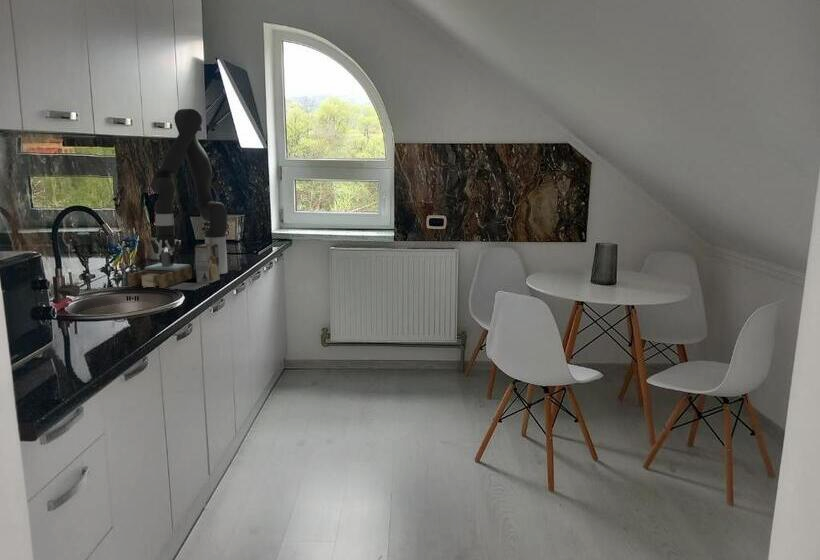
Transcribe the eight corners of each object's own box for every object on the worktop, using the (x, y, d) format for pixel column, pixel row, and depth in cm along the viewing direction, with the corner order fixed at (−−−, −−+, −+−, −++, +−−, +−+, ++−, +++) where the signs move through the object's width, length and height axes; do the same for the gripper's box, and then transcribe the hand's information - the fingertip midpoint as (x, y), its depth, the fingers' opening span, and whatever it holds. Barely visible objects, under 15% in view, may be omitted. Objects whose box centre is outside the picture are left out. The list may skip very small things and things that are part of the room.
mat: (183, 283, 271) (183, 282, 271) (209, 284, 269) (209, 283, 269) (167, 289, 259) (167, 287, 259) (194, 290, 257) (194, 289, 257)
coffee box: (207, 279, 281) (205, 243, 278) (220, 279, 280) (218, 243, 277) (196, 283, 273) (194, 246, 270) (209, 283, 271) (207, 246, 268)
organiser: (161, 277, 286) (160, 265, 285) (192, 278, 283) (191, 266, 282) (128, 287, 262) (127, 274, 261) (161, 289, 259) (160, 275, 258)
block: (149, 285, 268) (148, 273, 267) (160, 285, 267) (159, 274, 266) (142, 287, 263) (141, 275, 262) (153, 288, 262) (152, 276, 261)
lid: (159, 265, 284) (158, 249, 282) (190, 266, 281) (189, 250, 280) (144, 269, 273) (143, 253, 272) (176, 270, 270) (175, 254, 269)
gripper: (184, 223, 276) (187, 262, 279) (154, 222, 278) (157, 261, 281) (175, 225, 269) (178, 265, 272) (145, 224, 271) (147, 264, 274)
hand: (167, 263), depth 277 cm, fingers open, 4 cm apart
